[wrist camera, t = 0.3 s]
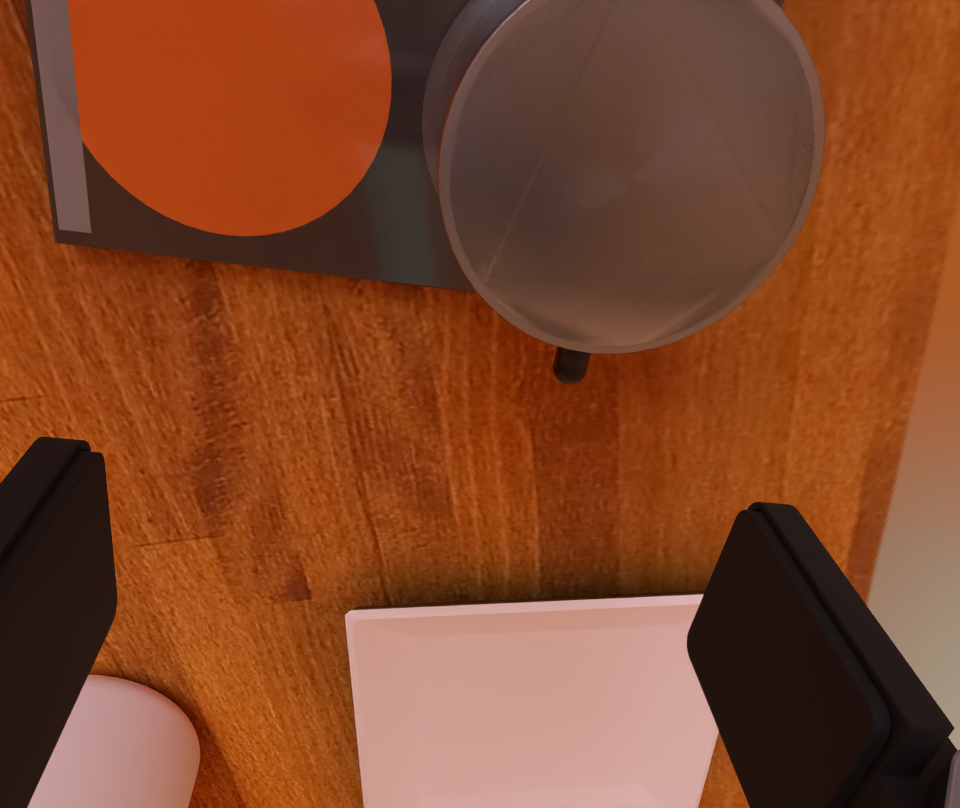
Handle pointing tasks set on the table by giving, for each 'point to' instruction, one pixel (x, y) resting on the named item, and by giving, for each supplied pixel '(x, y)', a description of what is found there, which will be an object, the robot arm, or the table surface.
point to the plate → (530, 703)
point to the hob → (251, 130)
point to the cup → (121, 751)
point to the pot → (626, 164)
